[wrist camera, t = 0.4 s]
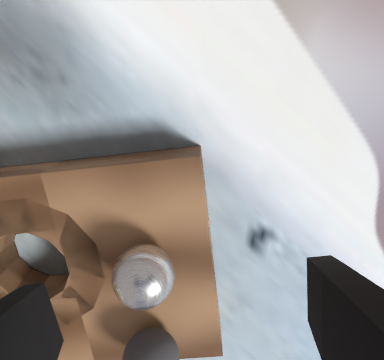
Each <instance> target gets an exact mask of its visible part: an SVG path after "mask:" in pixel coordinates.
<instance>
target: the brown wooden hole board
mask: <svg viewBox="0 0 384 360" xmlns="http://www.w3.org/2000/svg"><path fill="white" fill-rule="evenodd" d="M20 233H29V234H32V235H35V236H37V237H40V238H43V239H45V240H48V241H50V242H51V243H52V244H53V245H54V246H55V247H56V248H57V249H58V251H59V252H60V253H61V254H62V255H63V256H64V258H65V261H66V264H67V268H68V271H69V273H68V274H62V275H47V274H44V273H42V272H39V271H36V270H33V269H32V268H31V267H30V266H29V265H28V264H27V263H26V262H25V261H24V260H23V259H21V258H20V257H19V254H18V251H17V248H16V245H15V242H14V239H15V235H16V234H20ZM138 244H151V245H155V246H157V247H159V248H161V249H162V250H164V251H165V252H166V253H167V254H168V255H169V257H170V258H171V260H172V262H173V265H174V269H175V282H174V286H173V289H172V291H171V293H170V295H169V296H168V297H167V298H166V300H165V301H164V302H162V303H161V304H160V305H158V306H156V307H154V308H152V309H148V310H135V309H131V308H129V307H127V306H125V305H124V304H123V303H121V302H120V301H119V299H118V298H117V297H116V295H115V293H114V291H113V288H112V284H111V274H112V269H113V266H114V264H115V262H116V260H117V258H118V257H119V256H120V255H121V254H122V253H123V252H124V251H125V250H127V249H128V248H130V247H132V246H135V245H138ZM40 283H45V286H46V289H47V292H48V295H49V298H50V301H51V304H52V307H53V310H54V313H55V316H56V319H57V322H58V325H59V328H60V331H61V334H62V336H63V339H64V342H63V345H62V348H61V351H60V354H59V357H58V360H122V358H123V353H124V350H125V347H126V345H127V343H128V341H129V340H130V339H131V337H132V336H133V335H134V334H136V333H137V332H138V331H140V330H142V329H144V328H148V327H158V328H161V329H164V330H165V331H167V332H168V333H169V334H171V336H172V337H173V338H174V340H175V341H176V343H177V346H178V349H179V359H184V358H200V357H215V356H223V352H222V340H221V327H220V317H219V308H218V299H217V290H216V281H215V272H214V263H213V254H212V245H211V236H210V227H209V218H208V208H207V199H206V190H205V181H204V172H203V163H202V154H201V146H193V147H184V148H175V149H166V150H157V151H147V152H138V153H129V154H120V155H111V156H102V157H93V158H84V159H75V160H65V161H56V162H47V163H38V164H29V165H20V166H11V167H2V168H0V299H1V298H2V297H4V296H6V295H7V294H9V293H11V292H12V291H14V290H16V289H18V288H19V287H21V286H23V285H30V284H40Z"/></svg>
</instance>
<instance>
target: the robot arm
mask: <svg viewBox="0 0 384 360" xmlns="http://www.w3.org/2000/svg"><path fill="white" fill-rule="evenodd" d="M307 294H308V322H309V325H310V328H311V331H312V334H313V337H314V340H315V342H316V345H317V348H318V351H319V353H320V356H321V359H322V360H384V289H382V288H381V287H379V286H378V285H376V284H375V283H373V282H371V281H370V280H368V279H367V278H365V277H364V276H362V275H361V274H359V273H358V272H356V271H355V270H353V269H352V268H350V267H349V266H347V265H345V264H344V263H342V262H341V261H339V260H338V259H336V258H334V257H333V256H331V255H330V256H320V257H309V258H307ZM63 342H64V339H63V336H62V334H61V331H60V328H59V325H58V322H57V319H56V316H55V313H54V310H53V307H52V304H51V301H50V298H49V295H48V292H47V289H46V286H45V283H40V284H30V285H23V286H21V287H19V288H18V289H16V290H14V291H12V292H11V293H9V294H7V295H6V296H4V297H2V298H1V299H0V360H58V357H59V354H60V351H61V348H62V345H63Z"/></svg>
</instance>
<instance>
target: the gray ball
mask: <svg viewBox="0 0 384 360" xmlns="http://www.w3.org/2000/svg"><path fill="white" fill-rule="evenodd" d="M122 360H179V349H178V346H177V343H176V341H175V340H174V338H173V337H172V336H171V334H169V333H168V332H167V331H165V330H164V329H161V328H158V327H148V328H144V329H142V330H140V331H138V332H137V333H136V334H134V335H133V336H132V337H131V339H130V340H129V341H128V343H127V345H126V347H125V350H124V353H123V358H122Z"/></svg>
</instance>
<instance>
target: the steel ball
mask: <svg viewBox="0 0 384 360" xmlns="http://www.w3.org/2000/svg"><path fill="white" fill-rule="evenodd" d="M174 282H175V269H174V265H173V262H172V260H171V258H170V257H169V255H168V254H167V253H166V252H165V251H164V250H162V249H161V248H159V247H157V246H155V245H151V244H138V245H135V246H132V247H130V248H128V249H127V250H125V251H124V252H123V253H122V254H121V255H120V256H119V257H118V258H117V260H116V262H115V264H114V266H113V269H112V274H111V284H112V288H113V291H114V293H115V295H116V297H117V298H118V299H119V301H120V302H121V303H123V304H124V305H125V306H127V307H129V308H131V309H135V310H148V309H152V308H154V307H156V306H158V305H160V304H161V303H162V302H164V301H165V300H166V298H167V297H168V296H169V295H170V293H171V291H172V289H173V286H174Z"/></svg>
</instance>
